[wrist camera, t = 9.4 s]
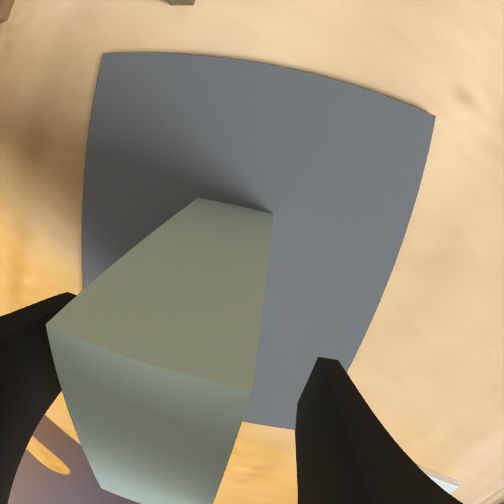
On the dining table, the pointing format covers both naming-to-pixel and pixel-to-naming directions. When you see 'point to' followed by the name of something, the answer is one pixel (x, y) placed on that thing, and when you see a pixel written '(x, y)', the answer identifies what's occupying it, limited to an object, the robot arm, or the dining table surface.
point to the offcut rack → (181, 2)
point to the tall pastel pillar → (167, 354)
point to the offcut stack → (5, 9)
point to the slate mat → (261, 191)
